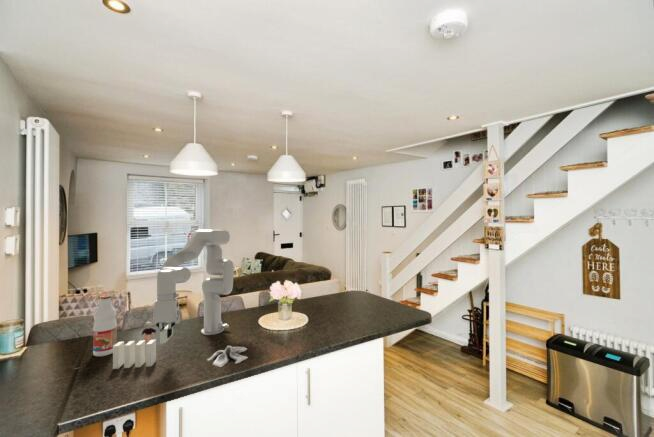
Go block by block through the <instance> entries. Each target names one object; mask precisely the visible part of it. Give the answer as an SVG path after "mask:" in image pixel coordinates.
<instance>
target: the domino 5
mask: <svg viewBox="0 0 654 437" xmlns="http://www.w3.org/2000/svg"><path fill="white" fill-rule="evenodd" d="M164 327H165V328H164V329H163V330H162V331H161V332H160V331H159V344H166V343H167V342H168V340H170V339H171V338H172V336H173V335H174V326H173V327H172V335H171V336H170V337H169V338H167V329H168V324H167V325H166V326H164Z"/></svg>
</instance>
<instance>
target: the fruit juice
mask: <svg viewBox="0 0 654 437" xmlns="http://www.w3.org/2000/svg"><path fill="white" fill-rule="evenodd" d="M111 299H112V295H111V294H104V295H100V296H99V297H98V300H99V304H98V306H97V308H96V309H95V311H94V313H93V319H94V322H93V327H92V343H93V344H92V353H93V356H95V357H105V356H109V355H111V354H112V355H113V346H114V345H115V344H117V343H118V342H117V341H118V339H117V338H118V336H117V334H118V331H117V328H118V325H117V324H118V323H117V319H116V316H117V309H116V308H115V307H114V306H113V304H112V302H111Z"/></svg>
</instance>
